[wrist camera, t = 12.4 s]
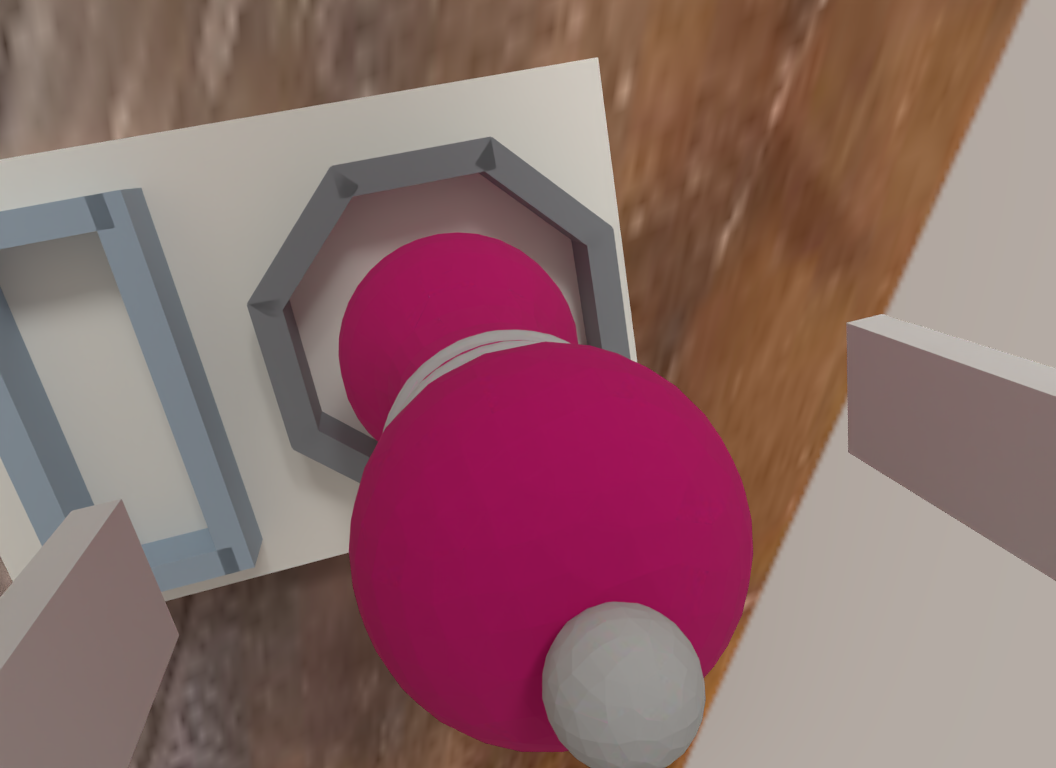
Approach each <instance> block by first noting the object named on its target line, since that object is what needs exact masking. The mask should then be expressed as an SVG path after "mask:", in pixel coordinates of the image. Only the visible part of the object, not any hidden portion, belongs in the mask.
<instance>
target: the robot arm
mask: <svg viewBox="0 0 1056 768" xmlns="http://www.w3.org/2000/svg"><path fill="white" fill-rule="evenodd" d="M847 384H848V452H849V453H850V454H852V455H854V456H855V457H857V458H858V459H860V460H862V461H863V462H865V463H866V464H868V465H870V466H871V467H873V468H875V469H876V470H878V471H880V472H881V473H883V474H884V475H886V476H887V477H889V478H891V479H892V480H894V481H896V482H897V483H899V484H900V485H902V486H904V487H905V488H907V489H908V490H910V491H912V492H913V493H915V494H916V495H918V496H920V497H921V498H923V499H924V500H926V501H928V502H929V503H931V504H933V505H934V506H936V507H937V508H939V509H941V510H942V511H944V512H945V513H947V514H949V515H950V516H952V517H954V518H955V519H957V520H958V521H960V522H962V523H963V524H965V525H967V526H968V527H970V528H971V529H973V530H975V531H976V532H978V533H979V534H981V535H983V536H984V537H986V538H987V539H989V540H991V541H992V542H994V543H995V544H997V545H999V546H1000V547H1002V548H1004V549H1005V550H1007V551H1008V552H1010V553H1012V554H1013V555H1015V556H1016V557H1018V558H1020V559H1021V560H1023V561H1025V562H1026V563H1028V564H1029V565H1031V566H1033V567H1034V568H1036V569H1038V570H1039V571H1041V572H1042V573H1044V574H1045V575H1047V576H1049V577H1051V578H1052V579H1054V580H1055V581H1056V368H1054V367H1051V366H1047V365H1045V364H1041V363H1038V362H1035V361H1032V360H1029V359H1025V358H1022V357H1019V356H1015V355H1012V354H1009V353H1006V352H1003V351H999V350H996V349H993V348H990V347H987V346H983V345H980V344H977V343H974V342H970V341H967V340H964V339H961V338H958V337H955V336H951V335H948V334H945V333H942V332H939V331H935V330H932V329H929V328H926V327H922V326H919V325H916V324H913V323H909V322H906V321H903V320H899V319H897V318H894V317H890V316H887V315H884V314H881V315H877V316H873V317H868V318H864V319H860V320H856V321H852V322H848V323H847ZM178 637H179V633H178V631H177V629H176V626H175V624H174V621H173V619H172V617H171V614H170V612H169V610H168V607H167V605H166V603H165V600H164V598H163V595H162V593H161V591H160V588H159V586H158V584H157V581H156V579H155V577H154V574H153V572H152V569H151V567H150V565H149V562H148V560H147V558H146V555H145V553H144V551H143V548H142V546H141V543H140V541H139V539H138V536H137V534H136V532H135V529H134V527H133V525H132V522H131V520H130V518H129V515H128V513H127V510H126V508H125V506H124V503H123V501H122V499H118V500H114V501H110V502H106V503H102V504H98V505H93V506H89V507H85V508H81V509H77V510H73V511H71V512H70V513H69V515H68V516H67V517H66V518H65V519H64V521H63V522H62V523H61V524H60V525H59V527H58V528H57V529H56V530H55V532H54V533H53V534H52V535H51V536H50V538H49V539H48V540H47V541H46V542H45V544H44V545H43V546H42V547H41V549H40V550H39V551H38V552H37V553H36V555H35V556H34V557H33V558H32V559H31V561H30V562H29V563H28V564H27V565H26V567H25V568H24V569H23V570H22V572H21V573H20V574H19V575H18V576H17V578H16V579H15V580H14V581H13V582H12V584H11V585H10V586H9V587H8V589H7V590H6V591H5V592H4V593H3V595H2V596H1V597H0V768H128V766H129V763H130V761H131V758H132V755H133V753H134V750H135V748H136V745H137V743H138V740H139V737H140V735H141V732H142V730H143V727H144V725H145V722H146V719H147V717H148V714H149V712H150V709H151V706H152V704H153V701H154V699H155V696H156V694H157V691H158V688H159V686H160V683H161V681H162V678H163V676H164V673H165V670H166V668H167V665H168V663H169V660H170V658H171V655H172V652H173V650H174V647H175V645H176V642H177V639H178Z"/></svg>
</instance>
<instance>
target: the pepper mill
mask: <svg viewBox="0 0 1056 768" xmlns="http://www.w3.org/2000/svg"><path fill="white" fill-rule="evenodd" d="M338 356H339V363H340V369H341V376H342V379H343V383H344V387H345V390H346V394H347V398H348V400H349V402H350V404H351V406H352V408H353V410H354V412H355V414H356V416H357V418H358V419H359V421H360V422H361V423H362V425H363V426H364V427H365V429H366V430H367V431H368V433H369V434H370V435H371V436H372V437H373V438H374V439H376V440H377V441H378V443H377V445H376V447H375V449H374V451H373V453H372V454H371V456H370V458H369V460H368V462H367V464H366V466H365V468H364V471H363V474H362V478H361V482H360V485H359V489H358V492H357V496H356V499H355V503H354V508H353V512H352V517H351V524H350V539H349V557H350V566H351V574H352V583H353V589H354V593H355V597H356V600H357V604H358V608H359V611H360V614H361V617H362V620H363V623H364V625H365V628H366V630H367V633H368V635H369V637H370V639H371V641H372V643H373V646H374V648H375V650H376V652H377V653H378V655H379V656H380V658H381V659H382V661H383V662H384V664H385V665H386V667H387V668H388V670H389V671H390V673H391V674H392V675H393V677H394V678H395V680H396V681H397V682H398V684H399V685H400V687H401V688H402V689H403V690H404V691H405V692H406V693H407V694H408V695H409V696H410V697H411V698H412V699H413V700H415V701H416V702H417V703H418V704H419V705H420V706H421V707H423V708H424V709H425V710H426V711H428V712H429V713H430V714H431V715H433V716H434V717H435V718H436V719H438V720H439V721H440V722H442V723H444V724H446V725H448V726H450V727H452V728H454V729H456V730H458V731H460V732H462V733H464V734H466V735H468V736H471V737H473V738H475V739H477V740H479V741H482V742H484V743H486V744H491V745H495V746H499V747H504V748H508V749H512V750H516V751H521V752H564V751H570V752H571V754H572V755H573V756H574V757H575V758H576V759H578V760H579V761H581V762H583V763H584V764H586V765H587V766H589V767H591V768H665V767H667V766H668V765H670V764H671V763H672V762H674V761H675V760H676V759H677V758H679V757H680V756H681V755H682V754H684V753H685V751H686V750H687V748H688V747H689V745H690V744H691V742H692V741H693V739H694V737H695V736H696V734H697V731H698V729H699V726H700V724H701V722H702V717H703V712H704V706H705V684H704V677H705V676H706V675H707V674H708V673H709V672H710V670H711V669H712V668H713V667H714V665H715V664H716V662H717V661H718V659H719V658H720V656H721V655H722V653H723V652H724V650H725V649H726V647H727V646H728V644H729V642H730V639H731V637H732V635H733V633H734V631H735V629H736V627H737V624H738V622H739V620H740V618H741V616H742V612H743V608H744V604H745V600H746V595H747V591H748V587H749V580H750V573H751V566H752V558H753V541H752V520H751V515H750V511H749V507H748V502H747V498H746V494H745V490H744V487H743V483H742V480H741V477H740V475H739V473H738V471H737V468H736V466H735V464H734V462H733V460H732V458H731V456H730V454H729V452H728V450H727V448H726V446H725V444H724V443H723V441H722V439H721V437H720V436H719V434H718V433H717V432H716V430H715V429H714V427H713V426H712V424H711V423H710V421H709V420H708V419H707V417H706V416H705V414H704V413H703V412H702V411H701V410H700V409H699V408H698V407H697V406H696V405H695V404H693V403H692V402H691V401H690V400H689V399H688V398H687V397H686V396H685V395H684V394H683V393H682V392H681V391H680V390H679V389H678V388H677V387H676V386H675V385H673V384H672V383H670V382H669V381H667V380H666V379H664V378H663V377H661V376H660V375H658V374H656V373H655V372H653V371H652V370H650V369H649V368H647V367H645V366H643V365H641V364H639V363H637V362H635V361H632V360H630V359H628V358H626V357H624V356H622V355H620V354H618V353H614V352H611V351H607V350H604V349H601V348H597V347H594V346H590V345H580V344H578V338H577V331H576V324H575V322H574V319H573V316H572V313H571V311H570V308H569V305H568V303H567V301H566V299H565V298H564V296H563V294H562V292H561V291H560V289H559V287H558V286H557V285H556V284H555V282H554V281H553V280H552V279H551V277H550V276H549V275H548V274H547V273H546V272H545V271H544V269H543V268H542V267H541V266H540V265H539V264H538V263H537V262H535V261H534V260H533V259H531V258H530V257H529V256H527V255H526V254H525V253H524V252H522V251H521V250H520V249H517V248H515V247H513V246H511V245H509V244H507V243H505V242H503V241H501V240H499V239H495V238H492V237H488V236H484V235H480V234H474V233H461V232H455V233H443V234H436V235H432V236H428V237H424V238H420V239H417V240H415V241H413V242H410V243H408V244H406V245H403V246H401V247H399V248H398V249H396V250H395V251H393V252H392V253H390V254H389V255H387V256H386V257H384V258H383V259H382V260H381V261H380V262H378V263H377V264H376V265H375V266H374V267H373V268H372V269H371V270H370V271H369V272H368V273H367V275H366V276H365V277H364V278H363V280H362V281H361V282H360V283H359V285H358V286H357V288H356V290H355V291H354V293H353V295H352V297H351V299H350V300H349V302H348V305H347V308H346V310H345V313H344V316H343V319H342V323H341V329H340V334H339V355H338Z"/></svg>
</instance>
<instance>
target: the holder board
mask: <svg viewBox="0 0 1056 768" xmlns="http://www.w3.org/2000/svg"><path fill="white" fill-rule="evenodd" d="M455 232H461V233H474V234H480V235H484V236H488V237H492V238H495V239H499V240H501V241H503V242H505V243H507V244H509V245H511V246H513V247H515V248H517V249H520V250H521V251H522V252H524V253H525V254H526V255H527V256H529V257H530V258H531V259H533V260H534V261H535V262H537V263H538V264H539V265H540V266H541V267H542V268H543V269H544V271H545V272H546V273H547V274H548V275H549V276H550V277H551V279H552V280H553V281H554V282H555V284H556V285H557V286H558V287H559V289H560V291H561V292H562V294H563V296H564V298H565V299H566V301H567V303H568V305H569V308H570V311H571V313H572V316H573V319H574V322H575V324H576V331H577V338H578V344H580V345H590V346H594V347H597V348H601V349H604V350H607V351H611V352H614V353H618V354H620V355H622V356H624V357H626V358H628V359H630V360H632V361H635V362H637V357H636V349H635V341H634V333H633V326H632V318H631V310H630V302H629V295H628V287H627V279H626V271H625V264H624V256H623V248H622V240H621V232H620V225H619V217H618V209H617V201H616V194H615V186H614V178H613V170H612V163H611V155H610V147H609V139H608V132H607V124H606V116H605V108H604V101H603V93H602V85H601V77H600V69H599V62H598V57H597V58H592V59H586V60H580V61H574V62H568V63H562V64H556V65H551V66H545V67H539V68H533V69H527V70H521V71H515V72H510V73H504V74H498V75H492V76H486V77H480V78H474V79H469V80H463V81H457V82H451V83H445V84H439V85H433V86H428V87H422V88H416V89H410V90H404V91H398V92H392V93H387V94H381V95H375V96H369V97H363V98H357V99H351V100H346V101H340V102H334V103H328V104H322V105H316V106H310V107H305V108H299V109H293V110H287V111H281V112H275V113H269V114H264V115H258V116H252V117H246V118H240V119H234V120H228V121H223V122H217V123H211V124H205V125H199V126H193V127H187V128H182V129H176V130H170V131H164V132H158V133H152V134H146V135H141V136H135V137H129V138H123V139H117V140H111V141H105V142H100V143H94V144H88V145H82V146H76V147H70V148H64V149H59V150H53V151H47V152H41V153H35V154H29V155H23V156H18V157H12V158H6V159H0V557H1V559H2V561H3V563H4V565H5V567H6V569H7V571H8V573H9V575H10V577H11V579H12V581H14V580H15V579H16V578H17V576H18V575H19V574H20V573H21V572H22V570H23V569H24V568H25V567H26V565H27V564H28V563H29V562H30V561H31V559H32V558H33V557H34V556H35V555H36V553H37V552H38V551H39V550H40V549H41V547H42V546H43V545H44V544H45V542H46V541H47V540H48V539H49V538H50V536H51V535H52V534H53V533H54V532H55V530H56V529H57V528H58V527H59V525H60V524H61V523H62V522H63V521H64V519H65V518H66V517H67V516H68V515H69V513H70V512H71V511H73V510H77V509H81V508H85V507H89V506H93V505H98V504H102V503H106V502H110V501H114V500H118V499H122V501H123V503H124V506H125V508H126V510H127V513H128V515H129V518H130V520H131V522H132V525H133V527H134V529H135V532H136V534H137V536H138V539H139V541H140V543H141V546H142V548H143V551H144V553H145V555H146V558H147V560H148V562H149V565H150V567H151V569H152V572H153V574H154V577H155V579H156V581H157V584H158V586H159V588H160V591H161V593H162V595H163V598H164V600H165V601H168V600H172V599H176V598H180V597H183V596H187V595H191V594H195V593H199V592H202V591H206V590H210V589H214V588H217V587H221V586H225V585H229V584H232V583H236V582H240V581H244V580H247V579H251V578H255V577H259V576H262V575H266V574H270V573H274V572H277V571H281V570H285V569H289V568H293V567H296V566H300V565H304V564H308V563H311V562H315V561H319V560H323V559H326V558H330V557H334V556H338V555H341V554H345V553H349V539H350V524H351V517H352V512H353V508H354V503H355V499H356V496H357V492H358V489H359V485H360V482H361V478H362V474H363V471H364V468H365V466H366V464H367V462H368V460H369V458H370V456H371V454H372V453H373V451H374V449H375V447H376V445H377V443H378V441H377V440H376V439H374V438H373V437H372V436H371V435H370V434H369V433H368V431H367V430H366V429H365V427H364V426H363V425H362V423H361V422H360V421H359V419H358V418H357V416H356V414H355V412H354V410H353V408H352V406H351V404H350V402H349V400H348V398H347V394H346V390H345V387H344V383H343V379H342V376H341V369H340V363H339V356H338V355H339V334H340V329H341V323H342V319H343V316H344V313H345V310H346V308H347V305H348V302H349V300H350V299H351V297H352V295H353V293H354V291H355V290H356V288H357V286H358V285H359V283H360V282H361V281H362V280H363V278H364V277H365V276H366V275H367V273H368V272H369V271H370V270H371V269H372V268H373V267H374V266H375V265H376V264H377V263H378V262H380V261H381V260H382V259H383V258H384V257H386V256H387V255H389V254H390V253H392V252H393V251H395V250H396V249H398V248H399V247H401V246H403V245H406V244H408V243H410V242H413V241H415V240H417V239H420V238H424V237H428V236H432V235H436V234H443V233H455Z"/></svg>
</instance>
